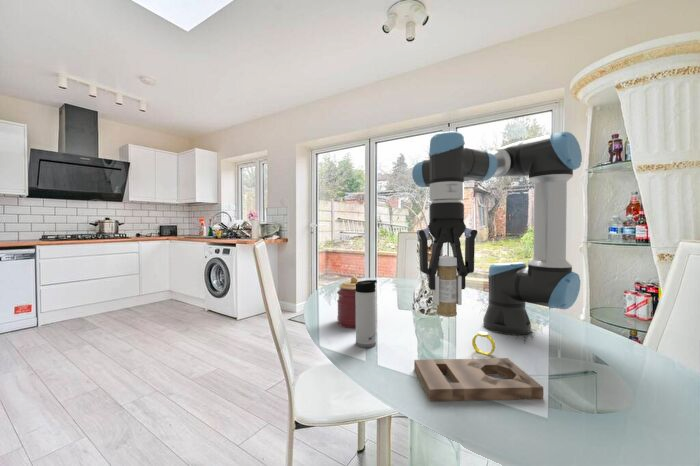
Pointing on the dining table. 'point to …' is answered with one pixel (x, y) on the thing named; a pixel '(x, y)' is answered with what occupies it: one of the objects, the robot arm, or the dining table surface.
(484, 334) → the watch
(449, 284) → the sprinkles bottle
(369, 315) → the travel mug
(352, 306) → the canister
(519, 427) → the dining table surface
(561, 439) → the dining table surface
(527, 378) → the socket plate
